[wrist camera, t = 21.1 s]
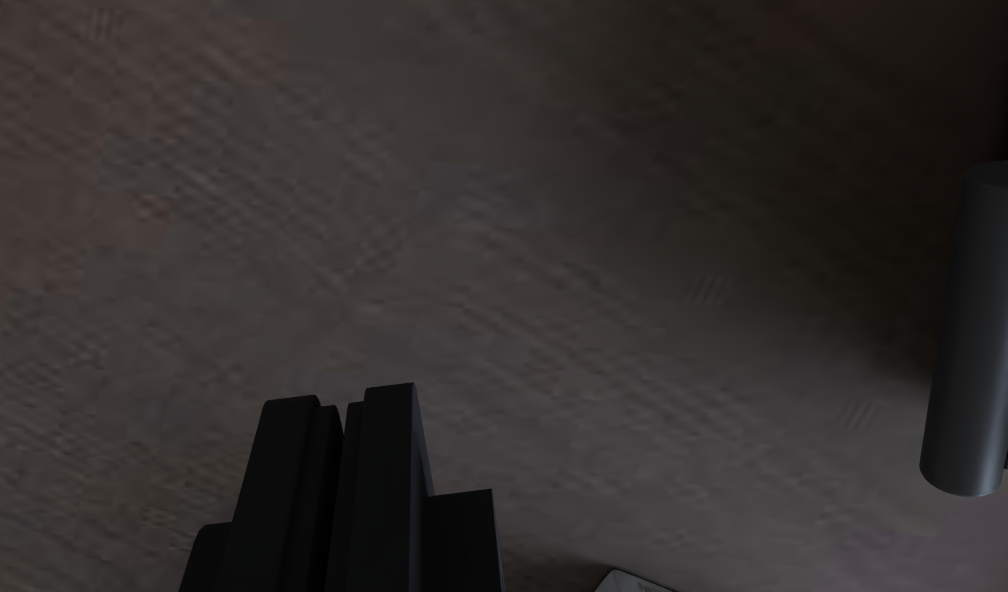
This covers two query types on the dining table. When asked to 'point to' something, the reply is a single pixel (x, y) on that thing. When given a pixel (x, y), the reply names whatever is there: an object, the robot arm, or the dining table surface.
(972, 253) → the drawer
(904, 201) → the dining table surface
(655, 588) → the coffee box
